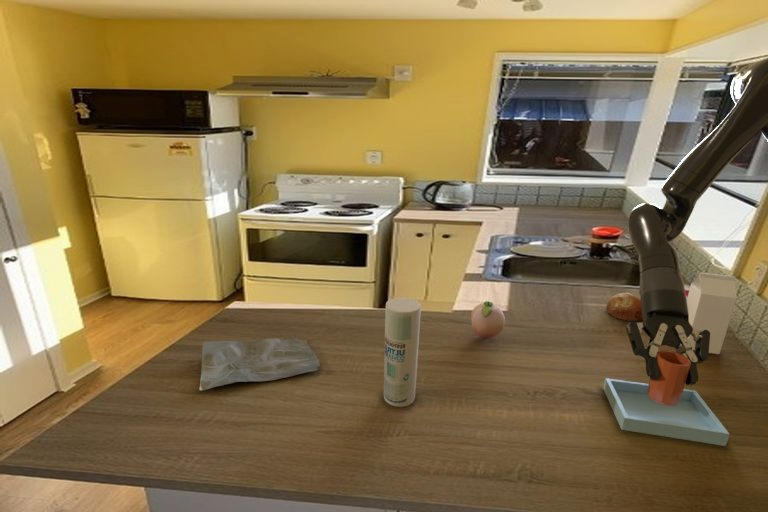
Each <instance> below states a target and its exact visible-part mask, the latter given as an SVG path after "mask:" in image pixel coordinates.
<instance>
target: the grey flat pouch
mask: <svg viewBox="0 0 768 512" xmlns="http://www.w3.org/2000/svg"><path fill="white" fill-rule="evenodd" d="M320 363H321V362H320V359H319V357H318V356H317V355H316V353H315V352H314V350H312V349H311V345H308V342H307V340H305V339H301V340H299V338H298V336H291V337H287V338H284V339H280V338H264V339H258V340H253V341H239V340H217V341H214V340H213V341H203V342H202V351H201V369H200V370H201V371H200V381H199V382H200V383H199V389H198V390H199V391H206V390H209V389H212V388H216V387H221V386H224V385H230V384H234V383H239V382H243V383H244V382H245V383H247V382H268V381H277V380H280V379H284V378H285V379H286V378H289V377H294V376H297V375H301V374H305V373H309V372H310V373H311V372H318V370H319V368H321V364H320Z"/></svg>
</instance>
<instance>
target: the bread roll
mask: <svg viewBox="0 0 768 512" xmlns="http://www.w3.org/2000/svg"><path fill="white" fill-rule="evenodd" d="M606 311H607V313H608V314H610V315H611V316H612V317H615V318H616V319H621V320H624V321H628V322H632V321H634V322H642V321H643V317H642V308H641V298H640V297H637V296H636V295H634V294H632V293H630V292H621V293H617V294H616V295H613V296H612V297H611V298H609V299H608V301H607V303H606Z"/></svg>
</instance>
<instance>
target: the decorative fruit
mask: <svg viewBox="0 0 768 512" xmlns="http://www.w3.org/2000/svg"><path fill="white" fill-rule="evenodd" d="M470 313H471V314H470V320H471V326H472V329H473V331H474V332H475V334H477V336H479V337H481V338H482V339H490V338H491V339H492V338H493V337H496V336H497V335H499V334H500V333H502V331H503V330H504V328H505V325H506V318H505V314H504V312H503V309H501V308H500V307H499V306H497V305H495V304H494V303H493V302H492V301H488V300H487V301H484V302H483V303H479V304H477V305H476V306H475V307H473V308H472V311H471V312H470Z"/></svg>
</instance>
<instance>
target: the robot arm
mask: <svg viewBox="0 0 768 512" xmlns="http://www.w3.org/2000/svg"><path fill="white" fill-rule="evenodd" d="M730 95H731V98H732V100H733V102H734V104H735V105H734V106H733V108H732V109H731V110H730V112H729V113H728V114H727V115H726V117H725V118H724V119H723V120H722V121H721V122H720V123H719V124H718V126H716V127H715V128H714V130H712V131H711V133H709V134H708V135H707V136H706V137H705V138H703V140H702V141H700V142H699V143H698V144H697V145H696V146H695V147H694V148H692V150H691V151H690V152H689V153H688V154H687V155H686V156H685V157H684V158H683V159H682V160H681V162H679V164H678V165H677V167H675V169H674V170H673V171H672V173H671V174H670V175H669V176H668V177H667V179H666V180H665V181H664V183H663V184H662V186H661V188H660V189H661V193H662V195H663V196H664V198H665V199H666V200H665V203H664V205H663V208H662V207H660V206H658V205H657V204H654V203H651V202H650V203H646V202H645V203H641V204H638V205H637V206H636V207H634V208H633V209H632V210H631V211H630V214H629V215H628V218H627V232H628V235H629V238H630V240H631V245H632V247H633V249H634V251H635V253H636V255H637V261H638V271H639V290H638V291H639V292H638V293H639V296H640V297H639V298H640V299H641V308H642V317H643V320H641V321H640V322H637V321H630V322H629V323H628V324H627V325H625V330H626V333H627V337H628V340H629V344H630V347H631V350H632V352H633V355H635V356H639V357H642V358H643V359H644V361H645V362H644V363H645V371H646V372H645V373H646V375H647V377H649V380H650V379H651V380H655V381H656V380H658V379H659V377H660V376H659V367H658V359H657V358H656V355H657V352H658V351H659V349H660V348H661V347H663V346H667V347H669V348H673V349H674V350H675V352H676V353H679V354H681V355H683V356H685V357H687V358H688V359H689V360H690V361H691V365H690V369H689V372H688V376H687V379H686V382H685V386H690V387H691V386H694V385H696V383H697V382H698V381H699V372H698V366H697V365H698V364H702V362H706V361H707V360H709V355H710V353H709V343H710V332H709V331H708V330H703V331H700V330H697V329H693V328H692V326H691V325H690V323H689V314H688V307H687V300H686V294H685V287H684V284H685V282H684V279H683V276H682V272H681V265H680V257H679V254H678V252H677V251H678V250H677V249H676V248H675V247H674V246H673V245H672V244H671V243H672V242H673V241H674V240H676V239H677V238H678V237H679V236H680V235H681V233H682V232H683V231H684V229H685V228H686V225H687V224H688V221H689V219H690V217H691V216H692V213H693V211H694V209H695V206H696V204H697V202H698V201H699V200H700V199H701V198H702V196H703V195H704V194H705V193H706V191H708V189H709V188H710V187H711V186H712V184H714V182H715V181H716V180H717V178H718V177H719V176H720V175H721V174H722V172H723V171H724V170H725V169H726V168H727V166H728V165H729V164H730V163H731V162H732V161H733V160H734V159H735V158H736V156H738V155H739V153H740V152H741V151H742V150H743V149H744V148H745V147H746V146H747V145H748V144H749V143H750V142H751V141H752V140H753V139H754V138H755V137H756V136H757V135H758V134H759V133H760V132H761V134H762V136H763V137H764V138H765V139H766V140H767V141H768V57H766V58H763V59H760V60H757V61H755V62H752V63H750V64H747V65H745V66H744V67H743V68H741V69H740V70H739V71H738V72H737V73H736V74H735V75H734V77H733V79H732V81H731V85H730ZM642 332H644V333H645V334H646V335H647V336H648V340H647V343H646V345H645V344H644V341H643V338H642V335H641V333H642ZM690 334H691V335H692V336H693V340H694V341H696V343H695V350H692V345H691V343H690V342H689V340H688V337H689V336H690ZM645 346H646V347H645Z"/></svg>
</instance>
